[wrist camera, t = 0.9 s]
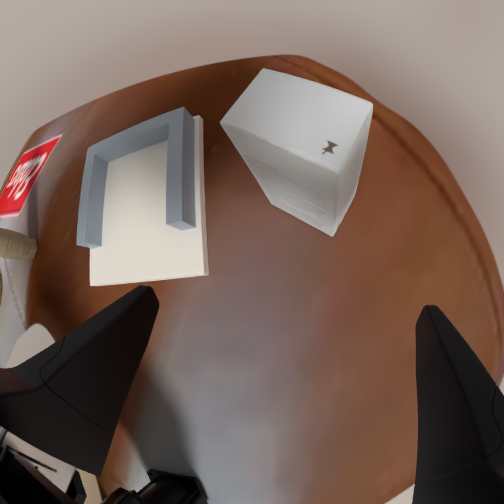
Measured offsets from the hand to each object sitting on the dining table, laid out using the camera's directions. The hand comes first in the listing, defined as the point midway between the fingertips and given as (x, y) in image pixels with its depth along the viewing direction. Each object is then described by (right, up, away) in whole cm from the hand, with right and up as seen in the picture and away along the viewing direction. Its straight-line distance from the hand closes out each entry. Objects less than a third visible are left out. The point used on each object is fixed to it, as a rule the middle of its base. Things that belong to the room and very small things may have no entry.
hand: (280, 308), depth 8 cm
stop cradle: (-12, +7, +18) cm, 23 cm away
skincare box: (+4, +6, +14) cm, 16 cm away
